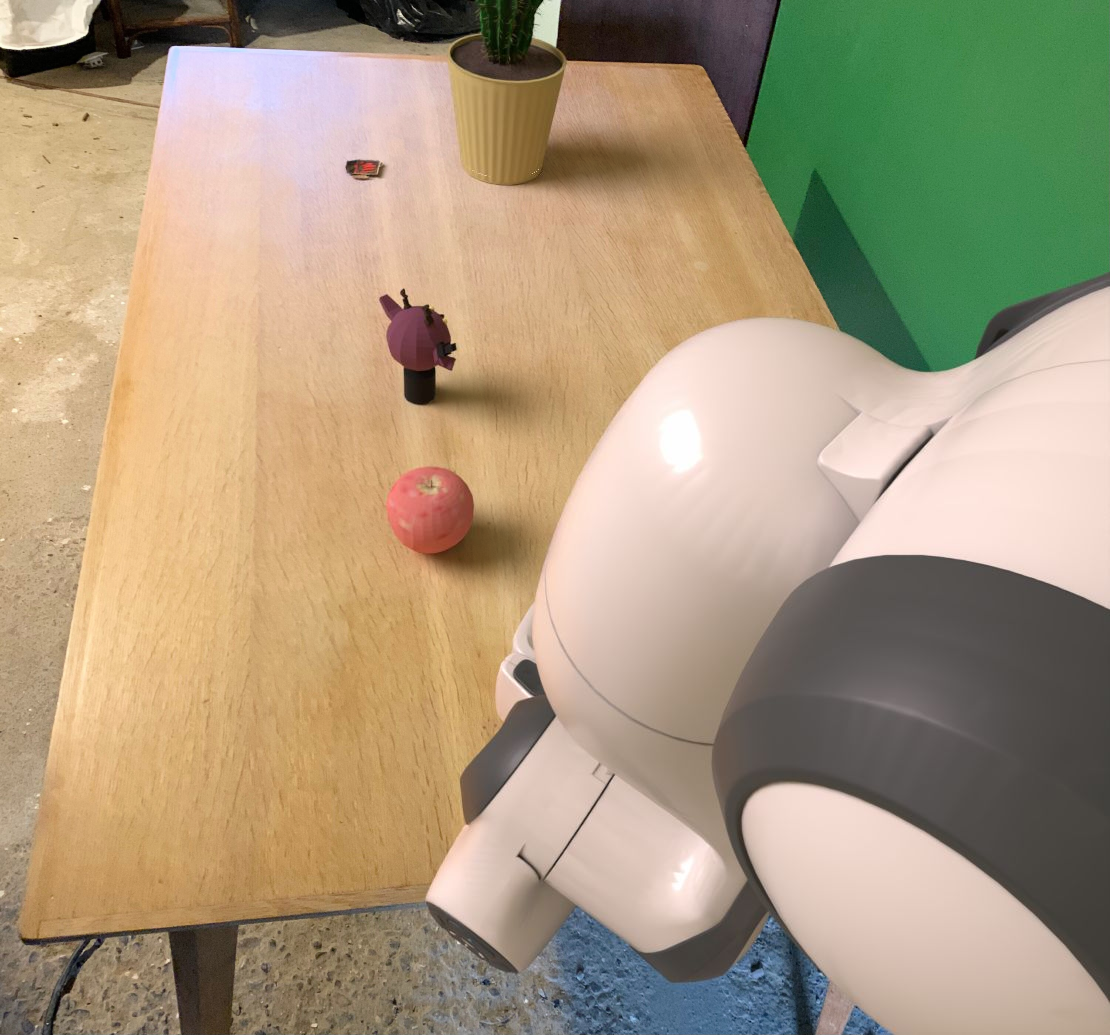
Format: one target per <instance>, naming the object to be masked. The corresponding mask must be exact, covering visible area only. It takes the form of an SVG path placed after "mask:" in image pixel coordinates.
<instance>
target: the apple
mask: <svg viewBox="0 0 1110 1035" xmlns="http://www.w3.org/2000/svg"><path fill="white" fill-rule="evenodd" d="M385 509H386V515H387V521H388V523H389V526H390V527H391V530H392V531H393V533H394V535H395V536H396V538H397V539H398V540H399V541H400V543H401V544H402V545H404V546H405V547H406V548H409V549H410V550H412V551H414V552H417V553H421V554H428V555H429V554H431V555H432V554H437V553H442V552H444V551H447V550H449V549H450V548H452V547H454V546H456V545H457V544H458V543H460V542H461V541H462V540H463V539H464V538H465V537H466V535H467V534H468V532H469V530H470V528H471V526H472V524H473V520H474V513H475V502H474V496H473V494H472V491H471V489H470V488H469V485H468V484H467V483H466V482H465V481H464V479H463V478H462V477H461V476H460V475H458V474H457V473H456V472H454V471H452V470H450V469H448V468H445V467H439V466H431V465H430V466H429V465H427V466H421V467H417V468H414V469H411V470H409V471H407V472H406V473H404V474H402V475H401V476H400V477H399V478H398V479H397V480H395V481H394V483H393V485H392V486H391V488H390V489H389V491H388V494H387V499H386V504H385Z"/></svg>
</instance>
